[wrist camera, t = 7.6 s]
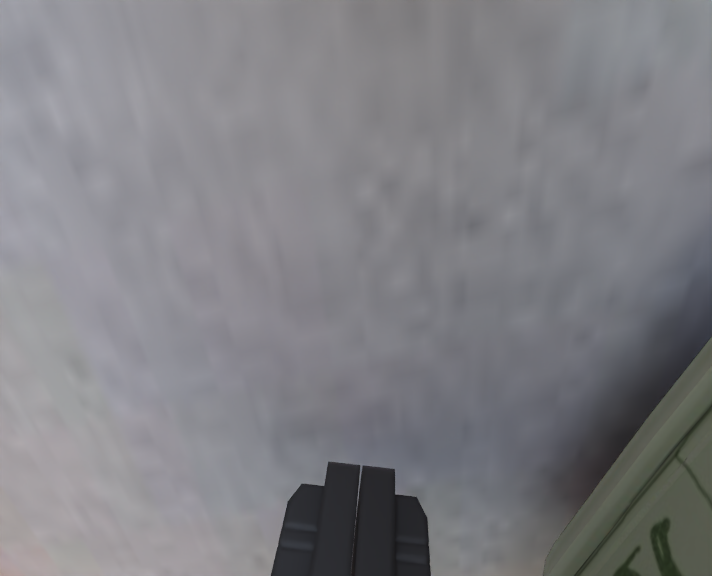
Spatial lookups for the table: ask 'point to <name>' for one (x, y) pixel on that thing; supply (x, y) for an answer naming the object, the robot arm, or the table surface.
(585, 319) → the table surface
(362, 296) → the table surface
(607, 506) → the toy car
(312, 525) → the robot arm
